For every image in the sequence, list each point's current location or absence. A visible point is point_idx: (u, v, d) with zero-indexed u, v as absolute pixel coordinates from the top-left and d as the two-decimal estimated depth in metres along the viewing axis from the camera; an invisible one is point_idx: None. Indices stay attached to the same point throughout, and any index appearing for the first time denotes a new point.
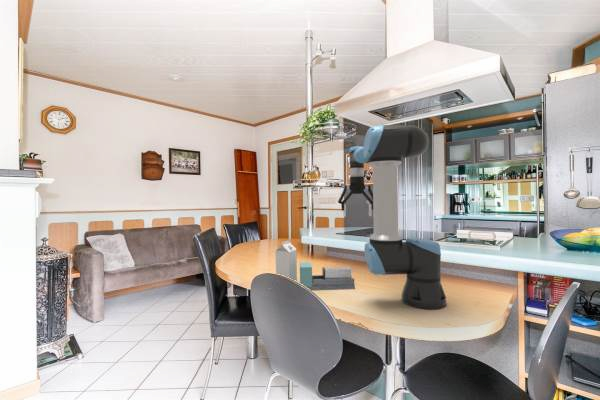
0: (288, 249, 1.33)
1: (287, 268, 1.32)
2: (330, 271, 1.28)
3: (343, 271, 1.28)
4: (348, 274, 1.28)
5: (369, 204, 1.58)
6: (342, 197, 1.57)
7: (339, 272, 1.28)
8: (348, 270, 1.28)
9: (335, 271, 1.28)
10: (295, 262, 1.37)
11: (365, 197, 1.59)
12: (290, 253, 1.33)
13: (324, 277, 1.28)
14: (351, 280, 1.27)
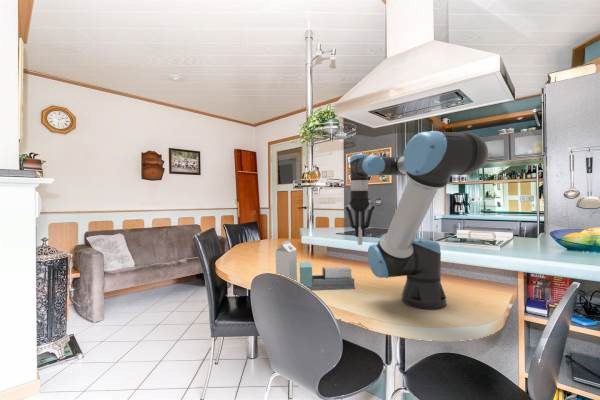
0: (288, 249, 1.33)
1: (287, 268, 1.32)
2: (330, 271, 1.28)
3: (343, 271, 1.28)
4: (348, 274, 1.28)
5: None
6: (352, 220, 1.29)
7: (339, 272, 1.28)
8: (348, 270, 1.28)
9: (335, 271, 1.28)
10: (295, 262, 1.37)
11: None
12: (290, 253, 1.33)
13: (324, 277, 1.28)
14: (351, 280, 1.27)
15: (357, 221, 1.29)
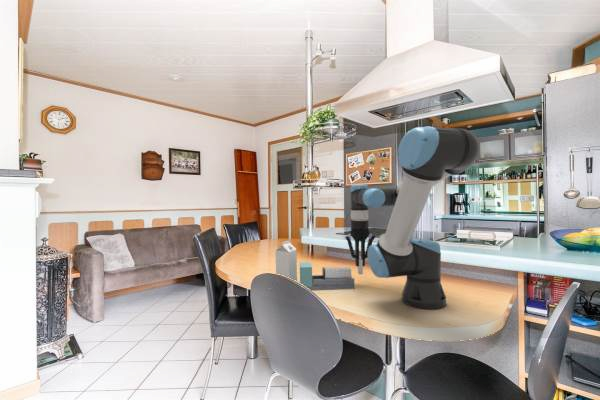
0: (288, 249, 1.33)
1: (287, 268, 1.32)
2: (330, 271, 1.28)
3: (343, 271, 1.28)
4: (348, 274, 1.28)
5: None
6: (352, 250, 1.29)
7: (339, 272, 1.28)
8: (348, 270, 1.28)
9: (335, 271, 1.28)
10: (295, 262, 1.37)
11: (361, 247, 1.31)
12: (290, 253, 1.33)
13: (324, 277, 1.28)
14: (351, 280, 1.27)
15: (357, 251, 1.29)
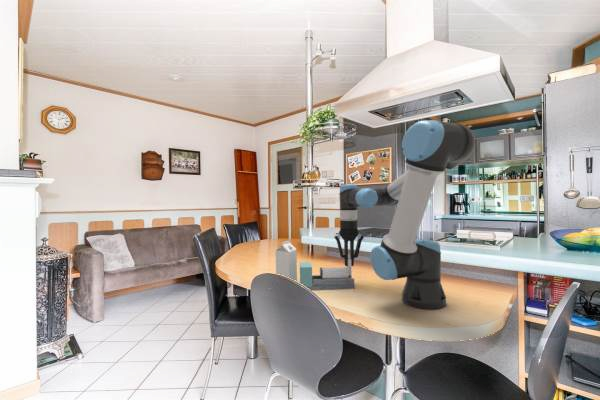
0: (288, 249, 1.33)
1: (287, 268, 1.32)
2: (327, 271, 1.28)
3: (340, 271, 1.28)
4: (345, 274, 1.28)
5: None
6: (341, 250, 1.29)
7: (336, 272, 1.28)
8: (345, 270, 1.28)
9: (332, 271, 1.28)
10: (295, 262, 1.37)
11: (350, 247, 1.31)
12: (290, 253, 1.33)
13: (321, 277, 1.28)
14: (351, 280, 1.27)
15: (346, 251, 1.29)
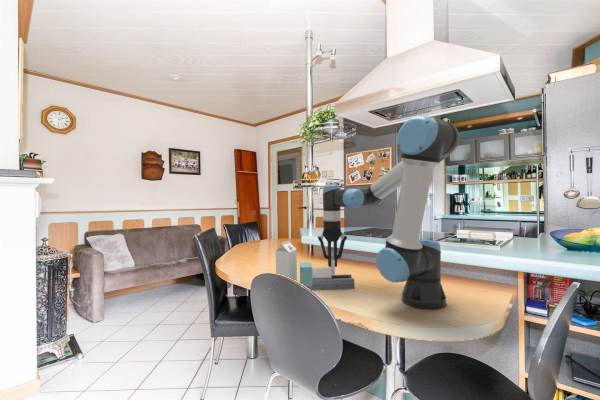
0: (288, 249, 1.33)
1: (287, 268, 1.32)
2: None
3: (323, 271, 1.28)
4: (329, 274, 1.28)
5: None
6: (324, 250, 1.29)
7: (319, 272, 1.28)
8: (329, 270, 1.28)
9: (315, 271, 1.28)
10: (295, 262, 1.37)
11: None
12: (290, 253, 1.33)
13: None
14: (351, 280, 1.27)
15: (330, 251, 1.29)
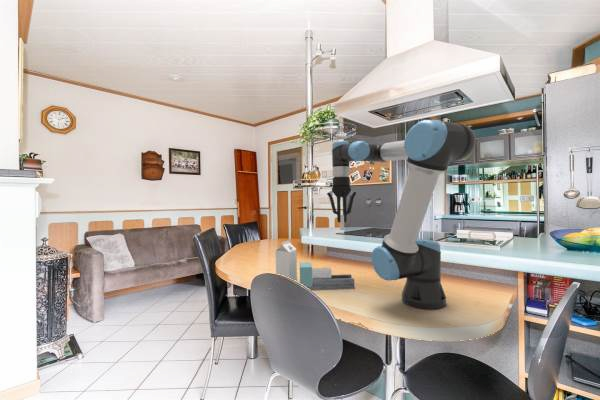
0: (288, 249, 1.33)
1: (287, 268, 1.32)
2: None
3: (323, 271, 1.28)
4: (328, 274, 1.28)
5: None
6: (334, 206, 1.31)
7: (319, 272, 1.28)
8: (328, 270, 1.28)
9: (315, 271, 1.28)
10: (295, 262, 1.37)
11: None
12: (290, 253, 1.33)
13: None
14: (351, 280, 1.27)
15: (339, 207, 1.31)
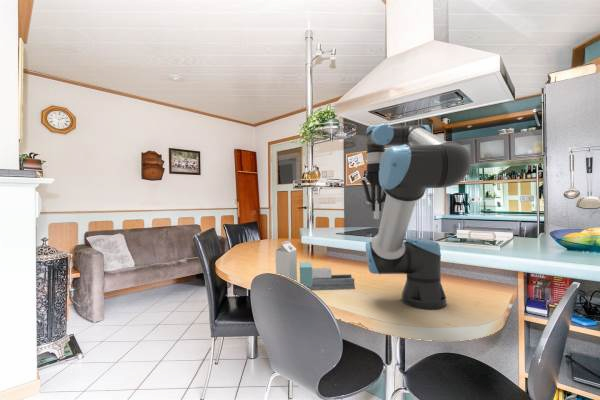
0: (288, 249, 1.33)
1: (287, 268, 1.32)
2: None
3: (323, 271, 1.28)
4: (328, 274, 1.28)
5: (376, 204, 1.27)
6: (368, 194, 1.26)
7: (319, 272, 1.28)
8: (328, 270, 1.28)
9: (315, 271, 1.28)
10: (295, 262, 1.37)
11: (377, 192, 1.28)
12: (290, 253, 1.33)
13: None
14: (351, 280, 1.27)
15: (374, 195, 1.26)
